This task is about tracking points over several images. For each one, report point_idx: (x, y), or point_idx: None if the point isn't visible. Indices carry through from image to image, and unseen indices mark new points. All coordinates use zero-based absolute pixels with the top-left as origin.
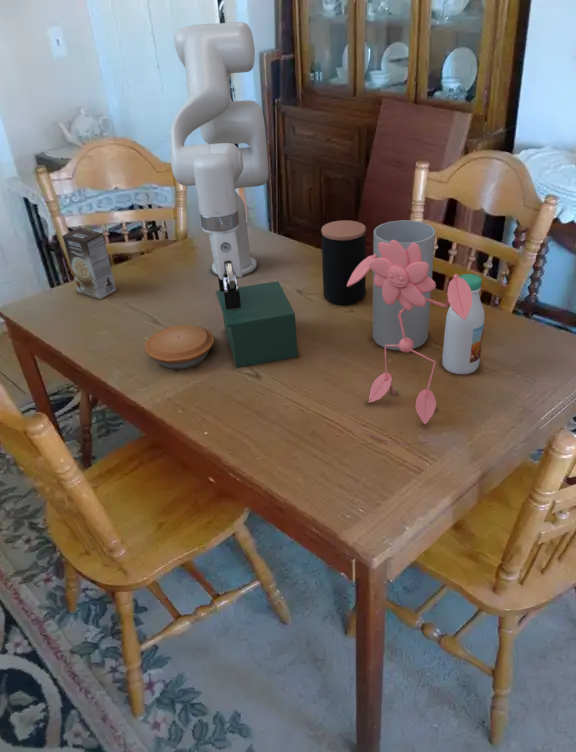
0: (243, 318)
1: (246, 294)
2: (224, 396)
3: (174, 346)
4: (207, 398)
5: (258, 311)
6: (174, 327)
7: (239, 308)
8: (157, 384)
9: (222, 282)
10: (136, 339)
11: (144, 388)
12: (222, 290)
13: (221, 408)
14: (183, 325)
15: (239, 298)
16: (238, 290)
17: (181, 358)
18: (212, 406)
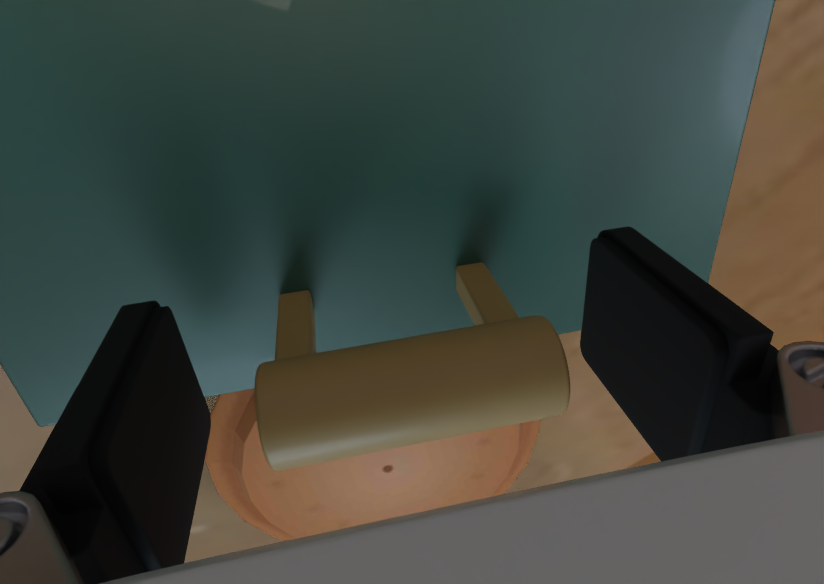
0: (676, 182)
1: (138, 129)
2: (737, 218)
3: (465, 468)
4: (715, 280)
5: (613, 13)
6: (267, 494)
7: (473, 215)
8: (550, 442)
9: (184, 480)
10: (204, 554)
11: (558, 471)
12: (205, 414)
13: (803, 229)
14: (249, 462)
15: (688, 275)
16: (769, 337)
17: (537, 421)
18: (772, 261)
